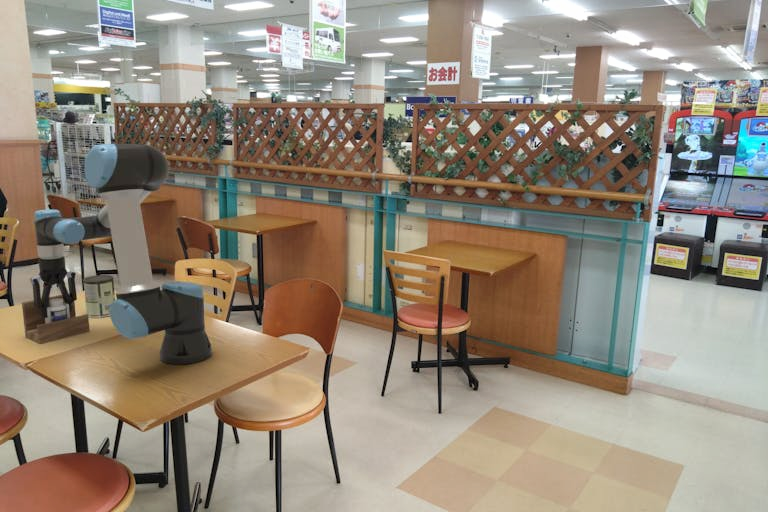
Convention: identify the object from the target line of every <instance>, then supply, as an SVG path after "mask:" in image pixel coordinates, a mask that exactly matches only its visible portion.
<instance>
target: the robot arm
mask: <svg viewBox="0 0 768 512" xmlns="http://www.w3.org/2000/svg"><path fill="white" fill-rule="evenodd" d="M167 159H168V158H167V157H166V156H165V154H164V153H163V152H162V151H161V150H160V149H158V148H157V147H155V146H153V145H150V144H144V143H138V144H136V143H135V144H132V143H113V142H112V143H111V142H110V143H102V144H97V145H94V146H93V147H91V149H90V150H89V151H88V153H87V155H86V157H85V161H84V176H85V180H86V181H87V183H88V185H89V186H90V187H92V188H94V189H96V190H97V195H98V196H99V197H100V198H101V199H103V200H104V201H105V205H104V206H103V207H102V208H101V210H100V211H98V213H97V214H96V215H89V216H81V217H78V216H77V217H69V218H68V217H67V218H62V214H61V212H60V210H59V209H41V210H40V209H39V210H36V211H35V212H34V214H33V216H34V217H33V218H34V220H33V221H34V222H33V223H34V229H35V237H36V238H35V239H36V246H37V247H36V248H37V256H38V257H39V258H38V268H39V274H38V275H37V276H35V277H31V278H30V279H29V281H30V283H31V285H32V293H33V296H32V297H33V300H34V306H35V307H37V308H41V313H42V317H43V318H45V323H51V313H50V308H48V307H47V306H48V301H49V297H51V296H50V294H51V290H52V288H53V285H57V286H58V288H59V290H60V293H61V294H60V295H62V296H63V298H64V301H65V303H63V305H65V307H66V315H67V319H68V318H70V312H72V307H71V304H72V303H73V301H74V302H75V301H77V300H78V297H77V287H76V280H75V279H76V272H74V271H71V270H70V271H68V270H67V268H66V257H64V255H65V247H64V245H66V244H67V245H69V244H71V245H74V244H77V243H79V242H81V241H88V240H95V239H96V240H97V239H103V238H111V240H112V246H113V251H114V256H115V261H116V262H115V263H116V267H117V268H116V269H117V274H118V280H119V285H120V286H119V287H118V289H117V290H116V292H115V298H116V299H115V301H113V302H112V303H111V305H110V307H111V308H110V316H109V317H110V319H111V322H112V325H113V327H114V328H115V330H116V331H117V332H118V333H119V334H120V335H121V336H122V337H124V338H126V339H130V340H132V339H134V340H135V339H138V338H145V337H147V336H149V335H153V334H155V333H159V332H163V331H164V335H163V338H162V339H163V340H162V342H161V347H160V349H159V358H160V360H161V362H163V363H165V364H170V365H188V364H195V363H199V362H203V361H205V360H207V359H208V358H210V357H211V356H212V354H213V352H212V344H211V342H210V339H209V336H208V334H207V331H206V327H205V325H206V324H205V306H204V305H205V303H204V299H205V296H204V289H203V286H202V285H201V284H199V283H195V282H190V281H166V282H163V283H162V284H161V285H160V284H158V283H157V282H156V281H154V277H153V273H152V266H151V260H150V255H149V248H148V243H147V237H146V231H145V226H144V220H143V214H142V208H141V204H142V203H143V202H144V200H145V199H146V198H147V197H148V196H149V195H150V194H151V193H153V192H156V191H158V190H160V188H161V187H162V186H163V185H164V184H165V183H166V181H167V180H168V177H169V173H170V165H169V162H168V160H167ZM65 278H67V285H68V289H67V286H66V282H65V281H64V279H65ZM41 280H42V282H43V286H42V287H43V289H42V292H41V285H40V284H41ZM41 293H42V294H41ZM69 295H70V296H69Z"/></svg>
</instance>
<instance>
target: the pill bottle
mask: <svg viewBox="0 0 768 512" xmlns="http://www.w3.org/2000/svg"><path fill="white" fill-rule="evenodd" d="M49 304H50V305H51V306H50V307H49V308H50V313H51V322H55V321H59V320H64V319H67V315H66V307H65V305H63V299H61V298H57V299H51V300H49Z"/></svg>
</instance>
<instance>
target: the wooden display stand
mask: <svg viewBox="0 0 768 512" xmlns="http://www.w3.org/2000/svg"><path fill="white" fill-rule="evenodd" d="M69 296H70V295H69ZM57 298H61V299H63V303H65V301H64V298H63V296H62V294H59V295H53V296H49V300H51V299H57ZM75 304H76V303H75V301H73V303H72V304H71V307H72V312H70V318H68V319H64V320H59V321H55V322H51V323H45V318H43V317H42V313H41V308H37V307H35V306H34V299H33V300H27V301H23V302H22V301H21V307H22V316H23V326H24V334H25V338H26V339H29V340H30V341H33V342H35V343H38V344H39V345H42V344H44V343H45V344H46V343H50V342H53V341H56V340H57V341H58V340H61V339H64V338H65V339H66V338H69V337H72V336H73V337H74V336H78V335H81V334H85V333H89V332H90V330H91V329H90V319H89V318H90V317H88V315H87V313H86V314H83V315H78V316H77V314H76V305H75ZM50 306H51V305H50V304H49V301H48V306H47V307H48V308H49V307H50Z"/></svg>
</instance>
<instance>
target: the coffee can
mask: <svg viewBox="0 0 768 512" xmlns="http://www.w3.org/2000/svg"><path fill="white" fill-rule="evenodd" d="M114 277H115V276H113V275H110V274H99V275H98V274H97V275H91V276H87V277H84V278H83V280H82V281H83V288H84V289H83V290H84V298H85V309H86V314H87V315H88V318H92V319H93V318H94V319H97V318H98V319H99V318H107V317H110V308H111V307H110V305H111V303H112V302H113V301H115V300H116V292H115V283H114Z"/></svg>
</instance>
